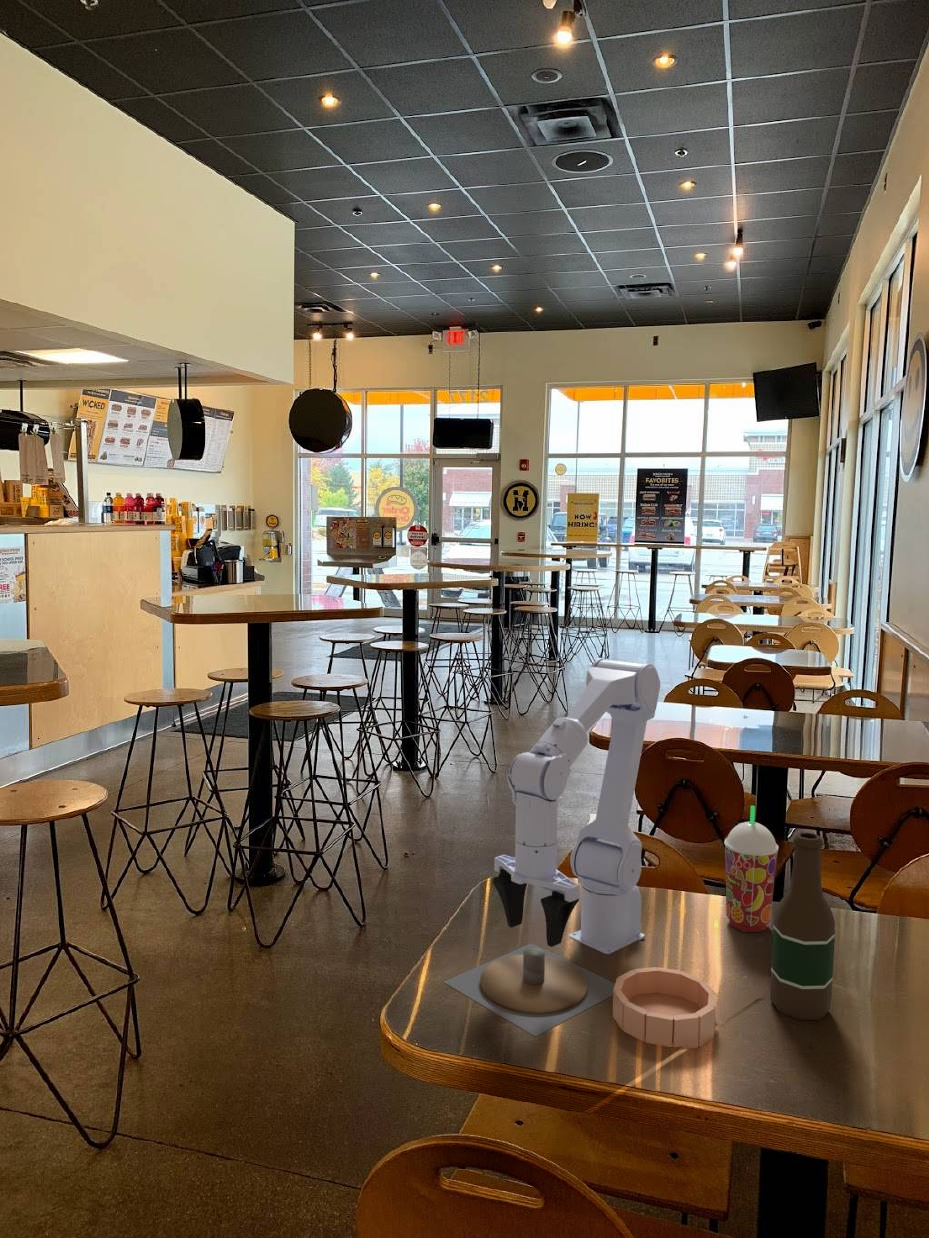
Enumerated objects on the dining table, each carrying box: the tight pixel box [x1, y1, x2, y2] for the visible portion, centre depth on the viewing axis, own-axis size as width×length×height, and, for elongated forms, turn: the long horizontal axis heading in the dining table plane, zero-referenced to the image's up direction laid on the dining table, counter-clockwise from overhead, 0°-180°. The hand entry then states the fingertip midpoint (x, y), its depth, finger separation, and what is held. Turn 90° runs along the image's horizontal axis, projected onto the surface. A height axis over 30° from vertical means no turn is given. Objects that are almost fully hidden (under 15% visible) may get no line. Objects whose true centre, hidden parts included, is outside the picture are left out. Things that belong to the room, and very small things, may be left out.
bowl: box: [612, 966, 718, 1051], centre depth 118 cm, size 13×13×4 cm
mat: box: [443, 942, 616, 1038], centre depth 126 cm, size 18×18×1 cm
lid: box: [480, 948, 588, 1014], centre depth 125 cm, size 15×15×5 cm
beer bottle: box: [769, 831, 836, 1021], centre depth 120 cm, size 8×8×24 cm
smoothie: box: [723, 805, 779, 933], centre depth 145 cm, size 8×8×20 cm
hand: (534, 934), depth 125 cm, fingers open, 7 cm apart
